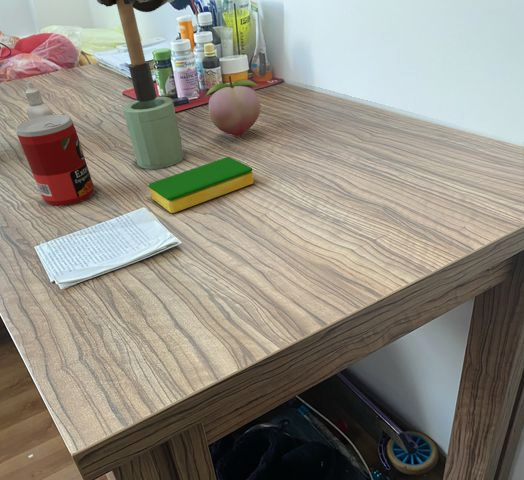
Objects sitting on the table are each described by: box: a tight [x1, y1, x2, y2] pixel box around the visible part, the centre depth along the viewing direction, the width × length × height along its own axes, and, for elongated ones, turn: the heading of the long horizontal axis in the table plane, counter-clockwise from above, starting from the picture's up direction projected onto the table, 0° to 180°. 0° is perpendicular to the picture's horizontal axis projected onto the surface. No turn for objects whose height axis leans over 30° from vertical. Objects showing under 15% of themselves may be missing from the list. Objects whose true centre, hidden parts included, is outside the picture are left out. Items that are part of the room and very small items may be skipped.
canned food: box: [15, 114, 95, 207], centre depth 76 cm, size 8×8×11 cm
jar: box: [122, 96, 185, 170], centre depth 85 cm, size 8×8×9 cm
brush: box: [116, 0, 158, 102], centre depth 76 cm, size 3×3×16 cm
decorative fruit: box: [204, 75, 261, 137], centre depth 90 cm, size 9×8×10 cm
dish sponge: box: [148, 156, 254, 214], centre depth 75 cm, size 7×14×2 cm, turn 124°
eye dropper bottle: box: [24, 81, 54, 120], centre depth 93 cm, size 4×6×12 cm
